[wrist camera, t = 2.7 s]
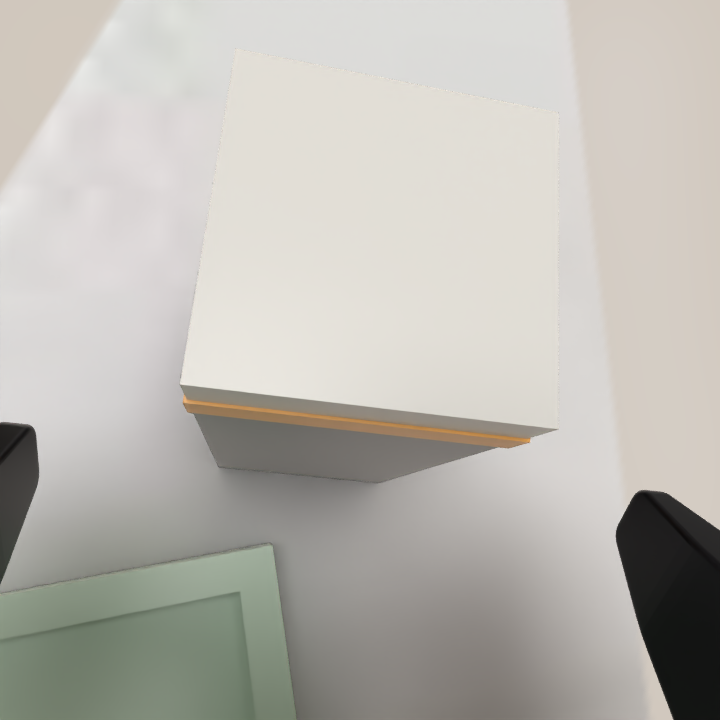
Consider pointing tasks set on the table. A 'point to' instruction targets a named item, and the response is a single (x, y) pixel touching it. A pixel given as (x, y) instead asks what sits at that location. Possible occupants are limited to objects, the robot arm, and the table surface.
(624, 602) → the table surface
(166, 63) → the table surface
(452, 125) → the grey tall block
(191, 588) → the tray
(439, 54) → the table surface
